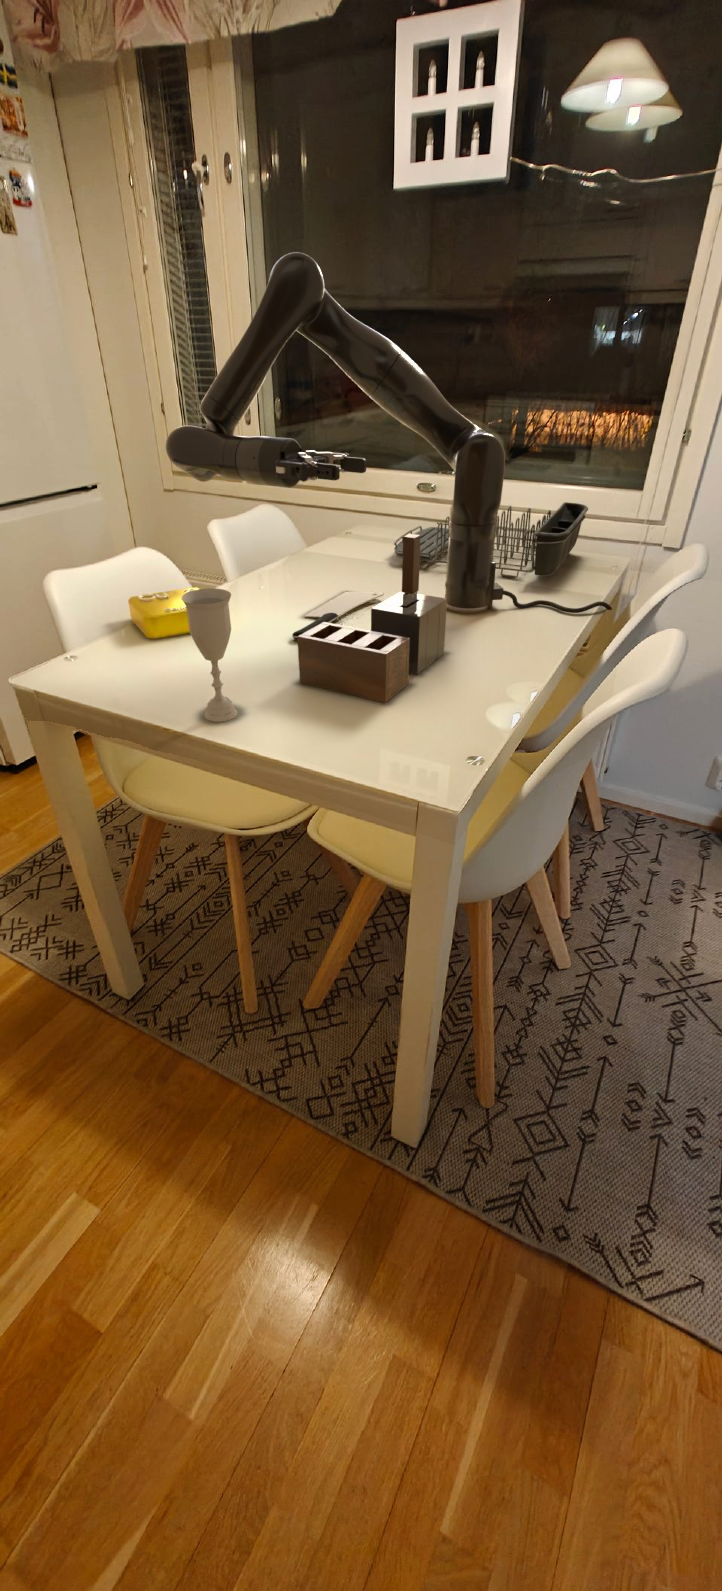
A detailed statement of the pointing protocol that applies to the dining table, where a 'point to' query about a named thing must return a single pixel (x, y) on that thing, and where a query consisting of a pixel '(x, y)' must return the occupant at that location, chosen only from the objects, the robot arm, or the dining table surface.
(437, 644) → the knife block
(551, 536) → the dish rack
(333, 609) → the kitchen cleaver
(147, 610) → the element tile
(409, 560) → the chef knife
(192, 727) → the dining table surface
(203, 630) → the chalice
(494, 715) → the dining table surface
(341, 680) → the knife rack
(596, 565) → the dining table surface
